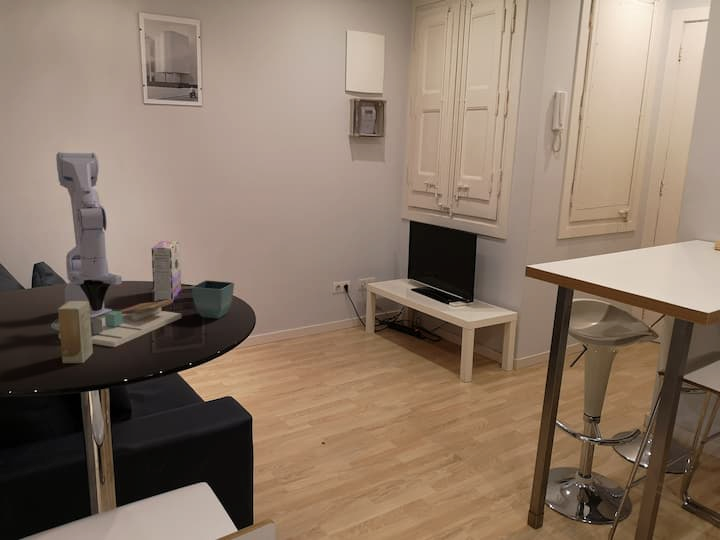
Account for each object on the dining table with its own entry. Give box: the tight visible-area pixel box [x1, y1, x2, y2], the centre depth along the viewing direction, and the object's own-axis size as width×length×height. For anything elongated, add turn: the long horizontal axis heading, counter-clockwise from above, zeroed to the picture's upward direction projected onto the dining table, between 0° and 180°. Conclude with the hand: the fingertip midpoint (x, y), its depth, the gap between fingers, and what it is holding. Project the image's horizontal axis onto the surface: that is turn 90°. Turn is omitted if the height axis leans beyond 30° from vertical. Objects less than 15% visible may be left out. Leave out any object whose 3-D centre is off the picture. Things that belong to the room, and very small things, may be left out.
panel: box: [58, 307, 182, 348], centre depth 148 cm, size 16×26×3 cm, turn 162°
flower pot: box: [191, 280, 235, 319], centre depth 159 cm, size 9×9×9 cm
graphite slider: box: [90, 317, 103, 335], centre depth 138 cm, size 3×3×3 cm
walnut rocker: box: [117, 300, 174, 314], centre depth 153 cm, size 11×9×1 cm
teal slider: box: [104, 310, 123, 327], centre depth 145 cm, size 3×3×3 cm
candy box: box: [151, 240, 182, 302], centre depth 179 cm, size 14×6×16 cm, turn 6°
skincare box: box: [57, 301, 94, 364], centre depth 124 cm, size 6×4×12 cm
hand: (97, 309), depth 146 cm, fingers closed
